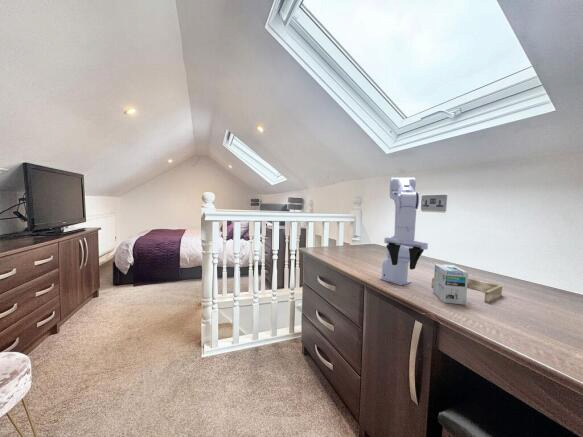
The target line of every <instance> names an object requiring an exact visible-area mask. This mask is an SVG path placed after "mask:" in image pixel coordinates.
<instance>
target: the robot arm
mask: <svg viewBox="0 0 583 437" xmlns="http://www.w3.org/2000/svg"><path fill="white" fill-rule="evenodd" d="M416 183H417V182H416V178H415V177H414V176H413V177H393V176H392V177H391V178H390V179H389V197H390V199H391V200H393V202H394V209H395V211H394V233H393V234H394V235H393V236H391V237H384V242H383V243H384V244H386V245H385V246H386V254H385V255H386V258H385V259H383V261H382V266H381V278H380V280H383V281H385V282H389V283H392V284H395V285H399V286H404V285H408V284H411V283H412V280H410V279H408V274H409V270H415V269H416V266H417V263H418V261H419V259H420V257H421V256H422V253H423V252H424V251H425V250H428V249H429V248H428V247H429V244H428V243H427V242H422V241H417V240H415V236H416V235H415V233H416V219H417V210H418V208H419V204H420V194H419V192H418V191H416ZM415 191H416V192H415Z"/></svg>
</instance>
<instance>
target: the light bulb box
mask: <svg viewBox="0 0 583 437" xmlns="http://www.w3.org/2000/svg"><path fill="white" fill-rule="evenodd" d="M433 272H434V273H433V274H434V276H433V278H434V287H432V288H433V291H432V292H433V294H435V296H437V297H438V299H440V300H441V301H442V303H445V304H455V305H463V306H466V305H467V296H468V294H467V292H468V288H467V282H468V278H469V272H468V271H467V270H464V269H462V268H460V267H458V266H456V265H454V264H444V263H434V271H433Z"/></svg>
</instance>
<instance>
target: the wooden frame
mask: <svg viewBox="0 0 583 437" xmlns="http://www.w3.org/2000/svg"><path fill="white" fill-rule="evenodd" d="M433 287H434V277H432V279H431V288H433ZM467 289H472V290H476V291H480V292H484V303H487V304H490V302H493V301H494V300H497V299H498V298H500V297H502V295H503V285H499V284H495V283H492V282H486V281H481V280H477V279H472V278H470V277H468V282H467Z"/></svg>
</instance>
